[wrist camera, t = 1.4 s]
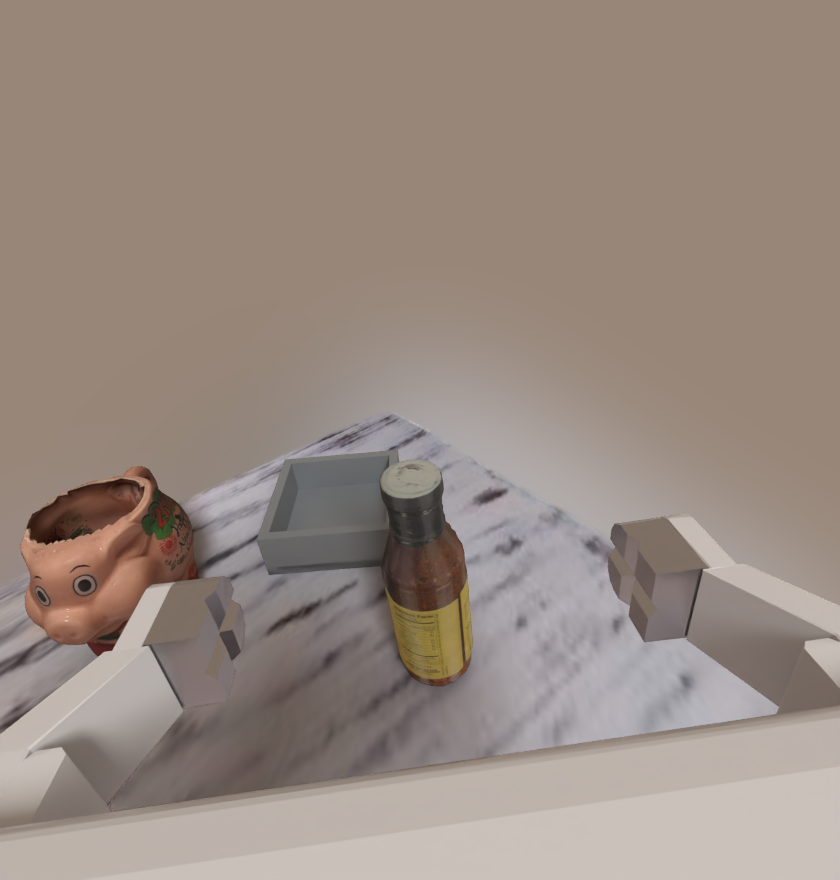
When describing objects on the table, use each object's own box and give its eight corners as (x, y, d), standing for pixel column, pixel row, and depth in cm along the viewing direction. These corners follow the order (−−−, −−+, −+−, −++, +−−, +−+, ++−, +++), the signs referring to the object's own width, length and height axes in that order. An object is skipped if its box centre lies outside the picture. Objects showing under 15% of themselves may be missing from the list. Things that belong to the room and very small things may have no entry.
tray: (269, 574, 52) (256, 540, 49) (293, 491, 64) (285, 459, 61) (401, 563, 52) (396, 528, 49) (401, 482, 63) (397, 449, 61)
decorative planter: (115, 552, 57) (57, 452, 49) (224, 527, 59) (184, 428, 51) (51, 722, 40) (-51, 611, 33) (206, 679, 42) (143, 566, 35)
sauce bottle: (434, 613, 46) (415, 434, 35) (488, 652, 42) (485, 464, 32) (383, 662, 42) (344, 478, 32) (437, 710, 38) (414, 519, 28)
